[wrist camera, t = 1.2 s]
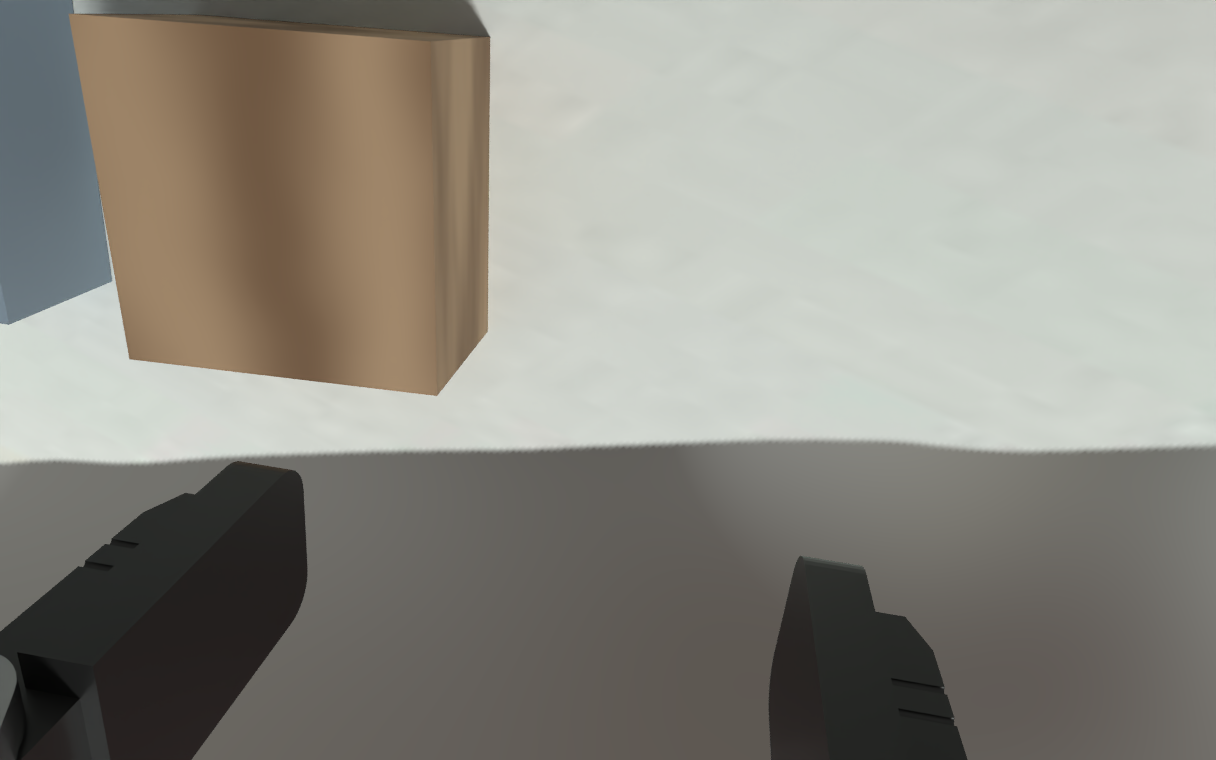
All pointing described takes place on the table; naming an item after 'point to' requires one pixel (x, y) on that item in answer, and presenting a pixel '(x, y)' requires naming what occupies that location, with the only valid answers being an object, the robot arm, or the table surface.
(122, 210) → the walnut block
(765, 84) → the table surface
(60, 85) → the slate board
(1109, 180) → the table surface
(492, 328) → the table surface
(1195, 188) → the table surface
